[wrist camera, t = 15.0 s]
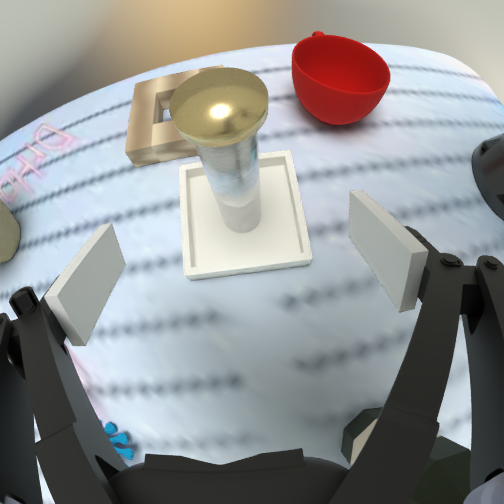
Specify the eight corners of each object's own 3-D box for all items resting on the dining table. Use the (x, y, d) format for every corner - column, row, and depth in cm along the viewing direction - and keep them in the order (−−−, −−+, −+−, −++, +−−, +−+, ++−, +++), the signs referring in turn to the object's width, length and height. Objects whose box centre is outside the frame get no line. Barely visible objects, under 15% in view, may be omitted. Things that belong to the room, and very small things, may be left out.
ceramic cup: (345, 66, 42) (356, 23, 33) (383, 139, 38) (407, 95, 28) (273, 69, 42) (274, 23, 32) (300, 146, 38) (309, 95, 28)
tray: (288, 163, 37) (290, 150, 34) (308, 264, 34) (312, 258, 31) (184, 177, 37) (179, 165, 34) (190, 280, 34) (184, 275, 31)
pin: (263, 188, 35) (260, 62, 17) (271, 235, 34) (276, 127, 15) (214, 195, 35) (171, 76, 17) (218, 242, 34) (167, 143, 15)
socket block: (226, 82, 42) (223, 64, 38) (234, 149, 38) (231, 131, 34) (143, 99, 42) (135, 83, 38) (135, 167, 38) (124, 152, 34)
